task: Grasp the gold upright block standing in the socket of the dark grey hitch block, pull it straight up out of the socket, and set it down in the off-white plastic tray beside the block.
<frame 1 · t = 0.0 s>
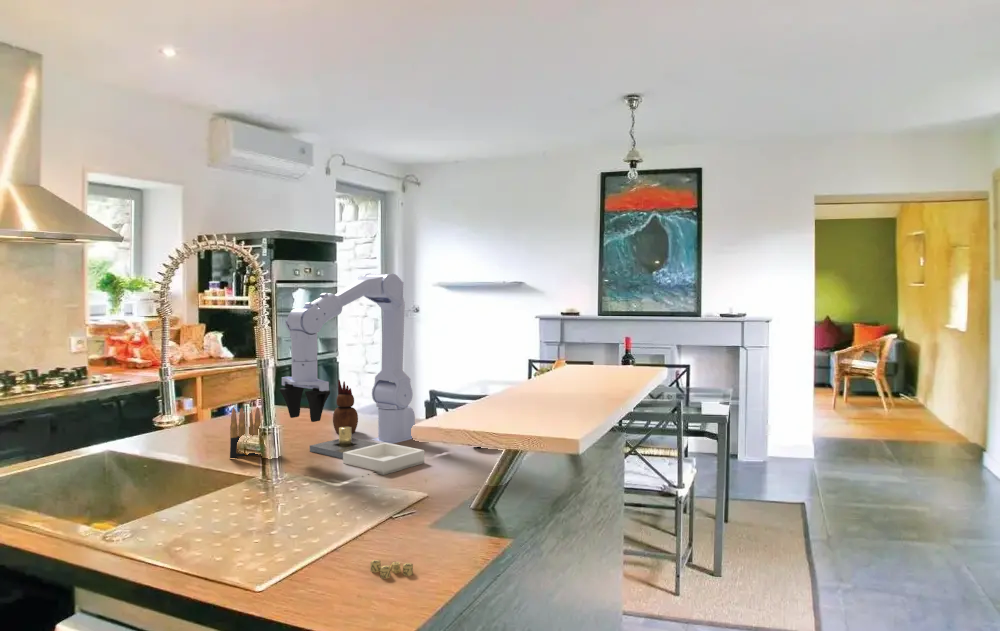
hand: (305, 419, 164), 10 cm above the counter, tool pointing down, fingers open, 7 cm apart
ammunition clip: (254, 457, 170), on the counter
tray: (384, 464, 163), on the counter
gold upright block: (345, 450, 174), point 1 cm above the counter, touching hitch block
dice set: (390, 577, 103), on the counter
wooden figurine: (345, 435, 195), on the counter
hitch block: (345, 452, 174), on the counter
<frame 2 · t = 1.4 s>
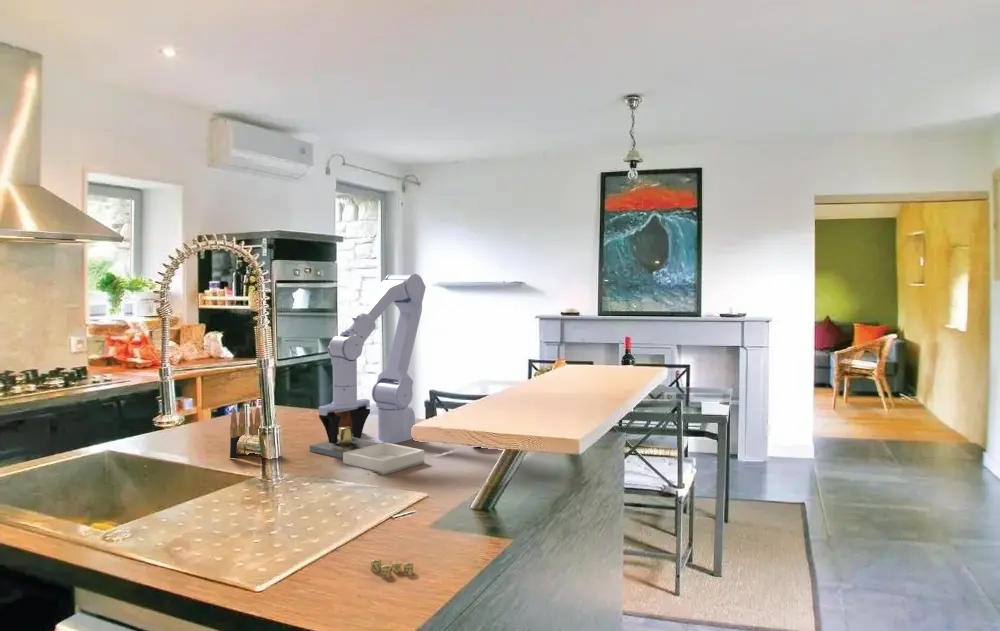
hand: (345, 440, 174), 3 cm above the counter, tool pointing down, fingers open, 7 cm apart
nothing on the counter moved.
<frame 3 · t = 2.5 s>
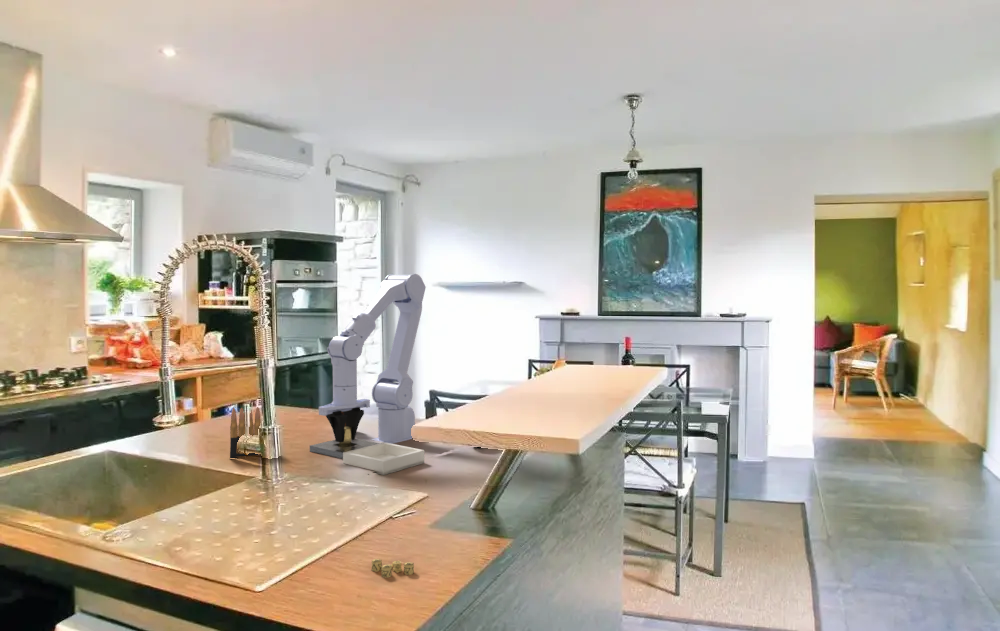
hand: (345, 440, 174), 3 cm above the counter, tool pointing down, fingers closed on gold upright block, 3 cm apart
gold upright block: (345, 450, 174), point 1 cm above the counter, touching gripper, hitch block
everything else where it was.
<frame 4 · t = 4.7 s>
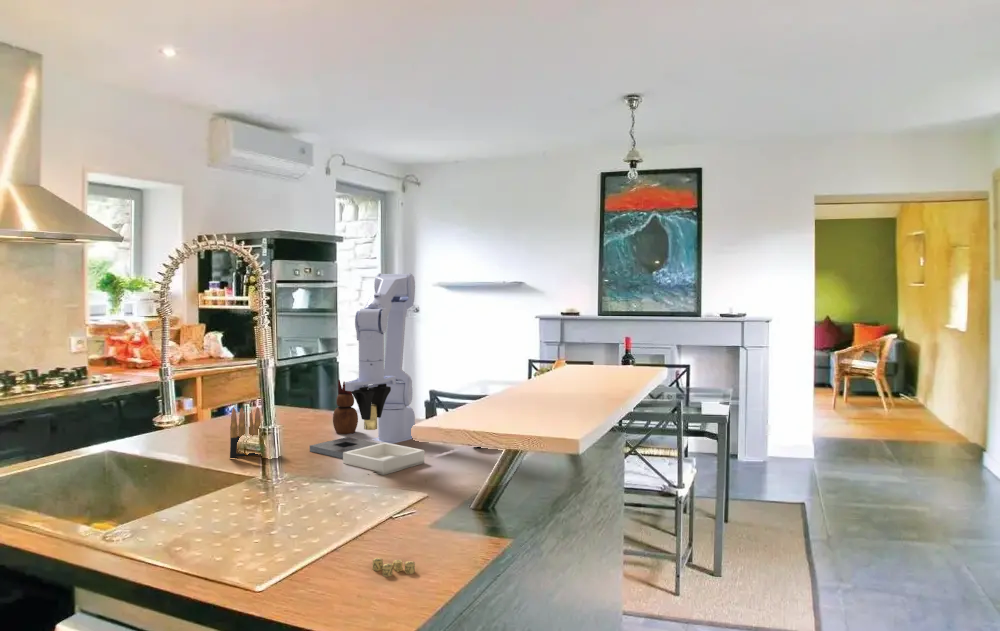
hand: (371, 418, 166), 10 cm above the counter, tool pointing down, fingers closed on gold upright block, 3 cm apart
gold upright block: (370, 428, 166), point 8 cm above the counter, touching gripper
everything else where it was.
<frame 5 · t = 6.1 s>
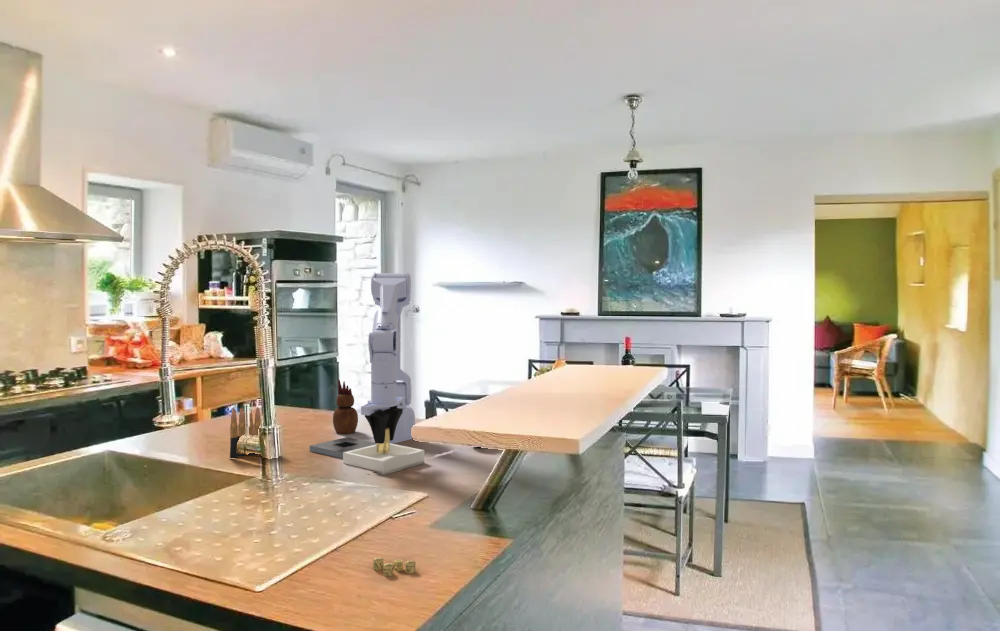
hand: (384, 441, 163), 5 cm above the counter, tool pointing down, fingers closed on gold upright block, 3 cm apart
gold upright block: (383, 451, 163), point 3 cm above the counter, touching gripper
everything else where it was.
when the fingers open (4 cm above the counter, at t = 7.1 s): gold upright block drops 1 cm, resting on tray.
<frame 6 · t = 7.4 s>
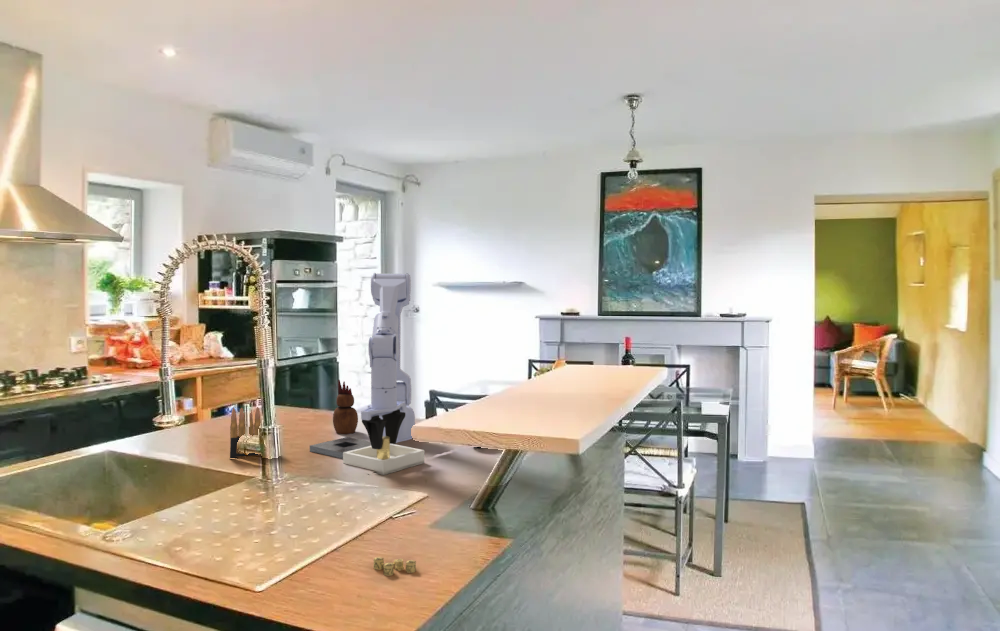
hand: (384, 446, 163), 4 cm above the counter, tool pointing down, fingers open, 5 cm apart
gold upright block: (383, 461, 163), point 1 cm above the counter, touching tray
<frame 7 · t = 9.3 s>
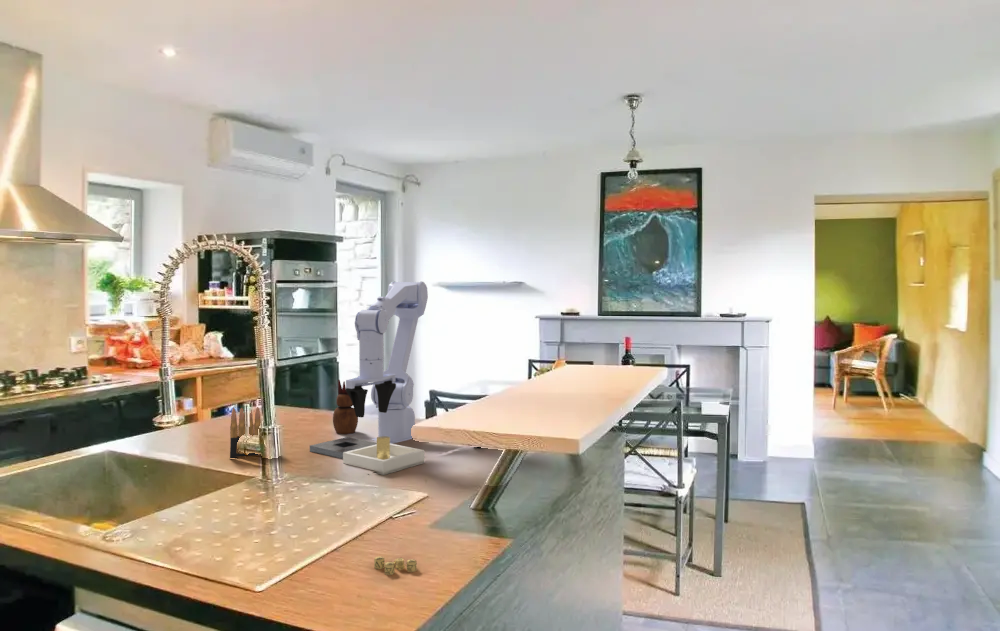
hand: (371, 414, 174), 9 cm above the counter, tool pointing down, fingers open, 7 cm apart
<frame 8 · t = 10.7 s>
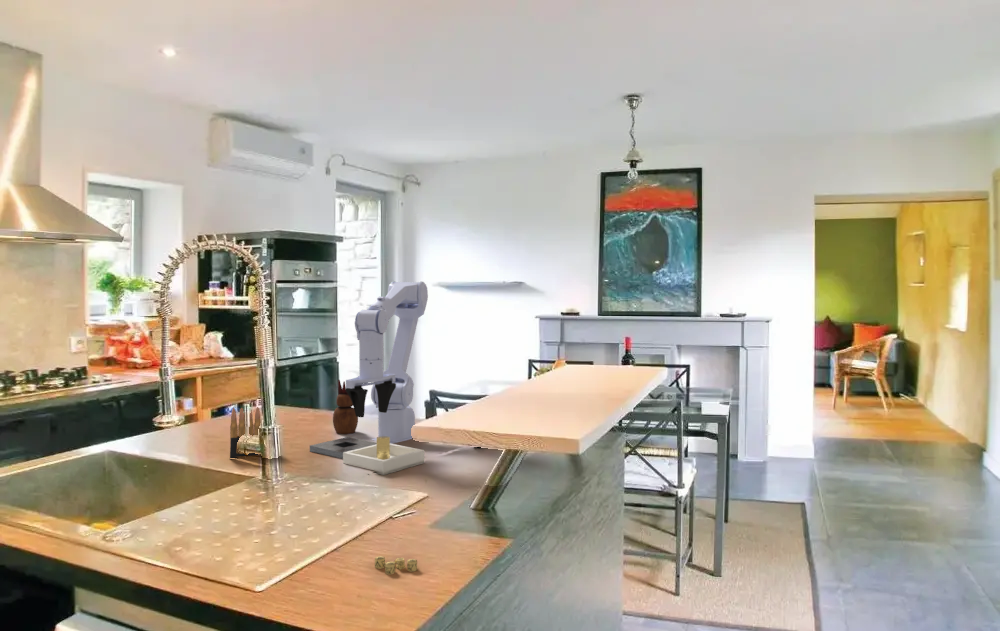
hand: (371, 414, 174), 9 cm above the counter, tool pointing down, fingers open, 7 cm apart
at the end: gold upright block inside the target area on the tray (0.3 cm from its centre), point 0.6 cm above the tray's base; the gripper is holding nothing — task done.
